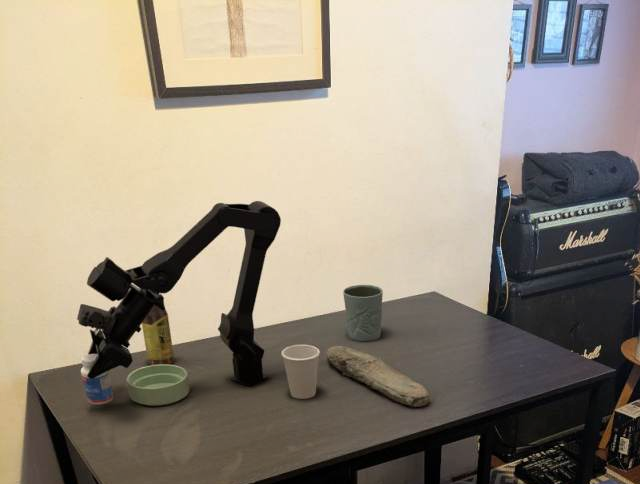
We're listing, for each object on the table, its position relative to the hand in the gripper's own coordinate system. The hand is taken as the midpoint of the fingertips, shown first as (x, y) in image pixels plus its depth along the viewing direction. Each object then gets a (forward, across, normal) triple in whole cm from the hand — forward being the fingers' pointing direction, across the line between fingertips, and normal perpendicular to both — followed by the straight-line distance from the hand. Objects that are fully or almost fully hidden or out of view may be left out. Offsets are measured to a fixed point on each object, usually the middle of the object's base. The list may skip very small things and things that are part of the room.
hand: (87, 372), depth 162 cm
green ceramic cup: (-43, -15, +56) cm, 72 cm away
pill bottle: (+4, 0, +6) cm, 7 cm away
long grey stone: (-36, +12, +50) cm, 63 cm away
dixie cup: (-24, +12, +37) cm, 46 cm away
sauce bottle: (-6, -19, +19) cm, 28 cm away
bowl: (-4, -1, +16) cm, 17 cm away
